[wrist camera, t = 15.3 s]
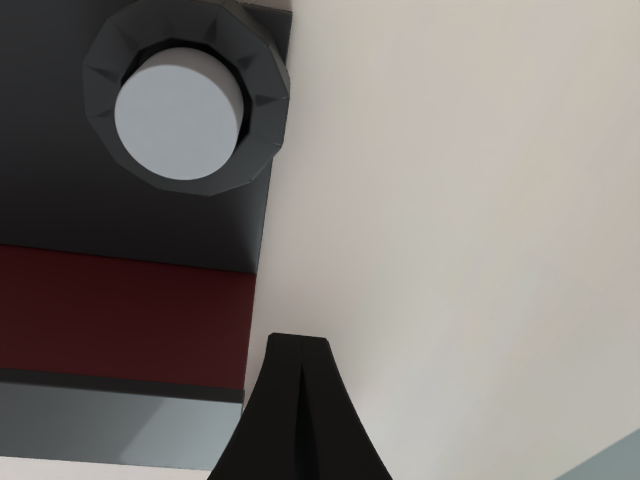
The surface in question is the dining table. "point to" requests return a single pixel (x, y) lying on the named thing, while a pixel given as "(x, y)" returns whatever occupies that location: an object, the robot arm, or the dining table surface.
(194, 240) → the dark grey drip tray
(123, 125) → the power button
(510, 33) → the dining table surface
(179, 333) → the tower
